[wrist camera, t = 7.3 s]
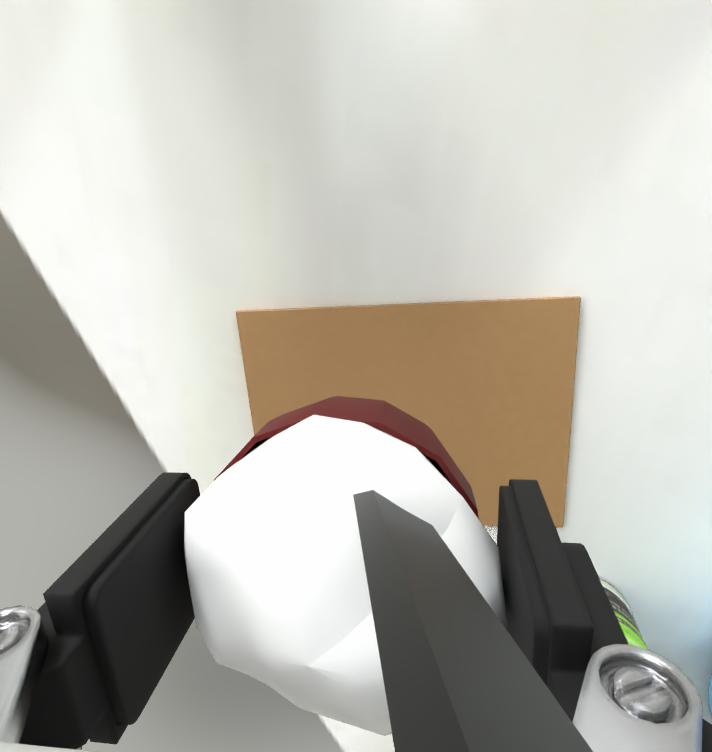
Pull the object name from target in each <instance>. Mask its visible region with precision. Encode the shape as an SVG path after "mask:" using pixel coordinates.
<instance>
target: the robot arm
mask: <svg viewBox="0 0 712 752" xmlns="http://www.w3.org/2000/svg"><path fill="white" fill-rule="evenodd" d="M199 497H200V492H199V487H198V483H197V481H196V480H195V479H191V477H190V475H189V474H188V473H162V474H161V475H160V476H159V477H158V478H157V479H156V480H155V481H154V482H153V483H152V484H151V485H150V486H149V487H148V488H147V489H146V490H145V491H144V492H143V493H142V494H141V495H140V496H139V497H138V498H137V499H136V500H135V501H134V502H133V503H132V504H131V505H130V506H129V507H128V508H127V509H126V510H125V511H124V512H123V513H122V514H121V515H120V516H119V517H118V518H117V520H115V522H113V523H112V525H110V526H109V527H108V528H107V530H106V531H105V532H104V533H103V534H102V535H101V536H100V537H99V538H98V539H97V540H96V541H95V542H94V543H93V544H92V545H91V546H90V547H89V548H88V549H87V550H86V551H85V552H84V553H83V554H82V555H81V556H80V557H79V558H78V559H77V560H76V561H75V562H74V563H73V564H72V565H71V566H70V567H69V568H68V569H67V570H66V571H65V572H64V573H63V574H62V576H60V577H59V578H58V579H57V580H56V581H55V582H54V583H53V585H52V586H51V587H50V588H49V589H48V590H47V591H46V592H45V593H44V594H43V595H44V598H45V601H46V602H45V603H44V604H43V605H42V606H41V607H40V608H39V609H38V610H36V609H34V608H32V607H29V606H14V607H7V608H3V609H1V610H0V752H94V751H84V750H82V746H83V745H84V744H86V742H87V741H88V739H90V741H91V742H100V743H109V744H117V743H118V741H119V739H120V738H121V736H122V734H123V733H124V731H125V729H126V727H127V726H128V725H131V724H134V723H135V722H136V721H137V719H138V717H139V716H140V714H141V712H142V710H143V709H144V707H145V705H146V704H147V702H148V700H149V698H150V696H151V695H152V693H153V691H154V689H155V688H156V686H157V684H158V682H159V680H160V679H161V677H162V675H163V673H164V671H165V670H166V668H167V666H168V664H169V662H170V661H171V659H172V657H173V656H174V654H175V652H176V650H177V648H178V646H179V645H180V643H181V641H182V640H183V638H184V636H185V634H186V632H187V630H188V629H189V627H190V625H191V624H192V622H193V620H194V618H195V615H194V610H193V604H192V598H191V593H190V587H189V581H188V575H187V568H186V561H185V554H184V521H185V511H186V510H187V509H188V508H189V507H190V506H191V505H192V504H193V503H194V502H195V501H196V500H197V499H198V498H199ZM497 546H498V549H499V557H500V566H501V574H502V583H503V591H504V600H505V608H506V617H507V626H506V627H505V628H506V630H507V631H508V632H509V634H510V635H511V637H512V638H513V639H514V641H515V642H516V644H517V645H518V646H519V648H520V649H521V651H522V652H523V654H524V655H525V656H526V658H527V659H528V661H529V662H530V663H531V665H532V666H533V668H534V669H535V670H536V672H537V673H538V675H539V676H540V677H541V679H542V680H543V682H544V683H545V685H546V686H547V687H548V689H549V690H550V692H551V693H552V694H553V696H554V697H555V699H556V700H557V701H558V703H559V704H560V706H561V707H562V708H563V710H564V711H565V713H566V714H567V716H568V717H569V718H570V720H571V721H572V723H573V724H574V725H575V727H576V728H577V730H578V731H579V732H580V734H581V735H582V737H583V738H584V739H585V741H586V742H587V744H588V745H589V747H590V748H591V749H592V751H593V752H712V725H711V724H710V723H708V722H707V721H705V720H704V719H702V712H703V710H702V705H701V700H700V695H699V694H698V692H697V690H696V688H695V687H694V685H693V683H692V681H691V680H690V679H689V678H688V677H687V676H686V675H685V674H684V673H683V672H682V671H681V670H680V669H679V668H678V667H677V666H675V665H674V664H673V663H671V662H670V661H668V660H667V659H666V658H664V657H662V656H660V655H658V654H656V653H654V652H652V651H650V650H648V649H644V648H641V647H637V646H633V645H629V644H628V641H627V639H626V637H625V635H624V632H623V630H622V628H621V626H620V624H619V621H618V619H617V617H616V615H615V612H614V610H613V608H612V606H611V604H610V601H609V599H608V597H607V595H606V592H605V590H604V588H603V586H602V584H601V581H600V579H599V577H598V575H597V572H596V570H595V568H594V566H593V564H592V561H591V559H590V557H589V555H588V552H587V550H586V549H585V547H584V545H582V544H580V543H561V541H560V538H559V535H558V533H557V530H556V528H555V525H554V522H553V520H552V517H551V515H550V512H549V510H548V507H547V504H546V502H545V499H544V497H543V494H542V491H541V489H540V486H539V484H538V481H537V480H525V479H510V480H509V485H508V486H500V488H499V507H498V533H497Z"/></svg>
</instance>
